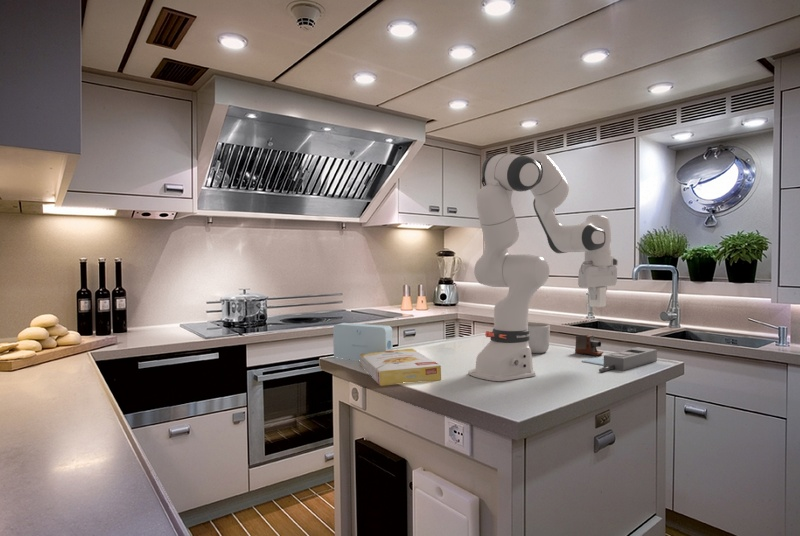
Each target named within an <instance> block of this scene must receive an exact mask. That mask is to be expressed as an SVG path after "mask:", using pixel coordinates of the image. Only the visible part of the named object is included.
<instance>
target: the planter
mask: <svg viewBox="0 0 800 536" xmlns="http://www.w3.org/2000/svg"><path fill="white" fill-rule="evenodd" d="M528 329H529V333H530V336H529V341H528V343H529V347H530V349H531V354H544V353H546V352H547V351H548V350H549V347H550V338H551V337H550V334H551V333H550V332H551V325H550V324H548V323H541V322H528Z"/></svg>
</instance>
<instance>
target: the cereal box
mask: <svg viewBox="0 0 800 536" xmlns="http://www.w3.org/2000/svg"><path fill="white" fill-rule="evenodd" d="M359 362H360V363H359V365H360V367H361V366H362V367H363V368H364V369H365V370H366V371H367V372H368V373H369V374H370V375H371V376H372V377H371V376H370V375H369V374H368V373H367V372H366V371H365V370H364V369H363V368H362V367H361V368H362V369H363V370H364V371H365V372H366V373H367V374H368V375H369V376H370V377H371V378H372V379H373V380H374V381H375V382H376V383H377V384H378V385H379V386H381V387H382V386H391V385H395V384H394V383H403V382H415V383H419V382H418V381H426V382H434V381H435V380H436V381H441V380H442V366H441V364H439V363H438V362H436V361H434V360H432V359H430V358H429V357H427V356H425V355H424V354H422V353H420V352H419V351H417V350H415V349H413V348H407V349H405V348H404V349H396V350H394V349H393V351H383V352H373V353H363V354H360V361H359Z"/></svg>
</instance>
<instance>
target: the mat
mask: <svg viewBox="0 0 800 536" xmlns="http://www.w3.org/2000/svg"><path fill="white" fill-rule="evenodd" d="M581 362H582V363H587V364H592V365H599V366H604V358H599V357H592V358H591V357H590V358H586V359H584V360H581Z"/></svg>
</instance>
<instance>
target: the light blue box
mask: <svg viewBox="0 0 800 536" xmlns="http://www.w3.org/2000/svg"><path fill="white" fill-rule="evenodd" d="M332 330H333V332H332V333H333V335H332V336H333V337H332V339H333V340H332V341H333V357H334V358H335V357H338V358H343V359H342V360H344V359H350V360H349V361H353V360H360V354H363V353H373V352H383V351H394V349H393V345H394V343H393V327H391V326H390V325H385V324H384V325H382V324H367V323H354V322H353V323H351V322H341V323H337V324H334V325H333V327H332Z"/></svg>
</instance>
